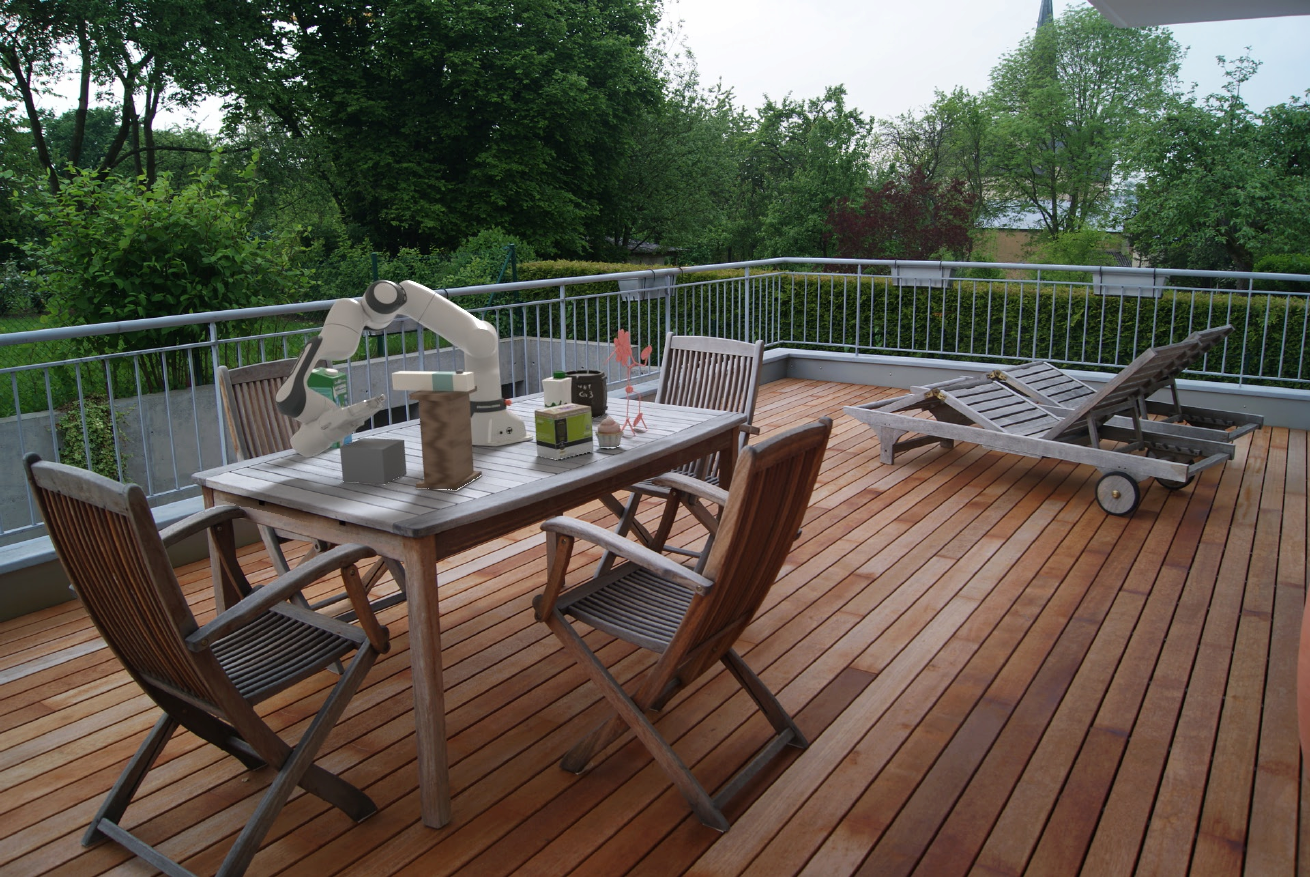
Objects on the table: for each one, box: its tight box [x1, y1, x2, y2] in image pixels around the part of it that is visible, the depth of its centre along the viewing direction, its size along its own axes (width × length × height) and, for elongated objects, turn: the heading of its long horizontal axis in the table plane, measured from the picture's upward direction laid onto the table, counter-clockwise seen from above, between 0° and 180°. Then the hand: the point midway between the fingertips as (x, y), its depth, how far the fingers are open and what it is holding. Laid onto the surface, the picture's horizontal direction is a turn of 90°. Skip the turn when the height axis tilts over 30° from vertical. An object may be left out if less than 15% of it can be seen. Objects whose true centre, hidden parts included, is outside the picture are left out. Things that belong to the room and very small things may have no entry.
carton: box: [391, 369, 475, 391], centre depth 257 cm, size 22×5×5 cm, turn 75°
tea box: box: [534, 403, 595, 461], centre depth 291 cm, size 15×10×15 cm
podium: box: [339, 437, 407, 485], centre depth 267 cm, size 13×12×10 cm
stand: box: [408, 385, 483, 490], centre depth 259 cm, size 12×16×26 cm
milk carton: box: [307, 366, 353, 449], centre depth 308 cm, size 9×9×25 cm
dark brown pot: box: [564, 369, 609, 418], centre depth 353 cm, size 18×18×16 cm
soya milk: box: [541, 370, 572, 409], centre depth 325 cm, size 9×9×20 cm
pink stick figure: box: [603, 328, 656, 435], centre depth 320 cm, size 15×26×35 cm, turn 154°
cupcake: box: [594, 415, 625, 448], centre depth 300 cm, size 9×9×10 cm
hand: (374, 399), depth 263 cm, fingers open, 8 cm apart
